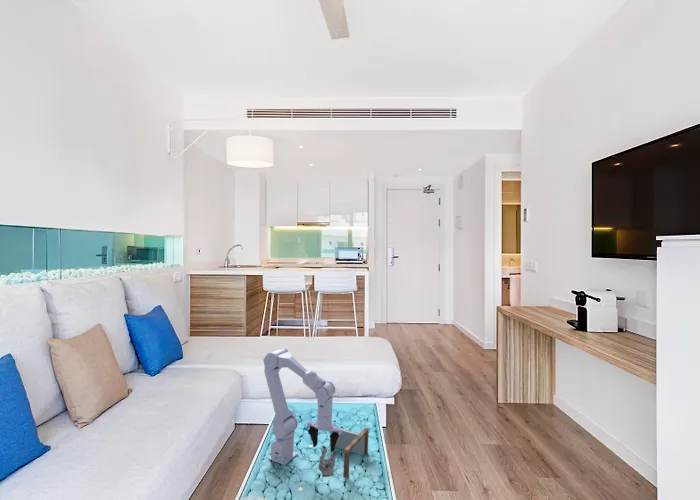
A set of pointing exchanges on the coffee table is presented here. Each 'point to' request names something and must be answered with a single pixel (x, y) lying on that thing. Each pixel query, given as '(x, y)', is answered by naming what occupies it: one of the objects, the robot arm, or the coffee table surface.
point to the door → (347, 439)
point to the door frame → (350, 447)
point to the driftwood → (326, 463)
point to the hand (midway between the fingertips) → (323, 448)
